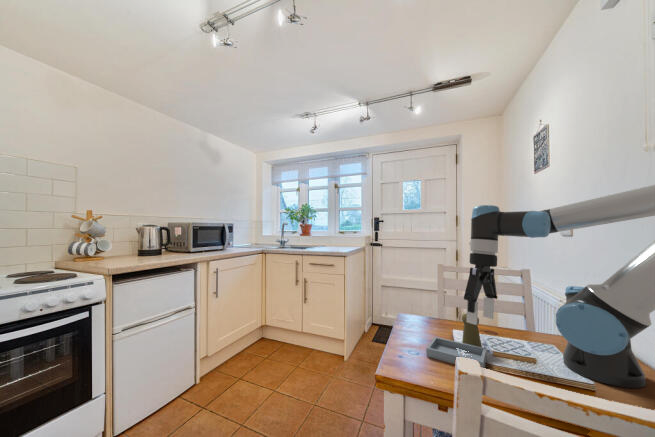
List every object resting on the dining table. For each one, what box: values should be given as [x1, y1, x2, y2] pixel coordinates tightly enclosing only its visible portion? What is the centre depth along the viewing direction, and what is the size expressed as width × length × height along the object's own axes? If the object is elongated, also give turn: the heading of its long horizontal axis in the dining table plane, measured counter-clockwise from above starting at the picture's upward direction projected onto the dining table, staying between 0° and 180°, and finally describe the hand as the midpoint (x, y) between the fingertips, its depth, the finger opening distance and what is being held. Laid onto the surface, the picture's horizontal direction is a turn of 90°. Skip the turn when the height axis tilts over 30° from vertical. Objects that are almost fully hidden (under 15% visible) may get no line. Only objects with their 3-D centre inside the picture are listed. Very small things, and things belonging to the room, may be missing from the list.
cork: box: [461, 312, 483, 347], centre depth 84 cm, size 6×6×11 cm
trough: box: [425, 336, 488, 368], centre depth 78 cm, size 16×11×3 cm
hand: (480, 320), depth 77 cm, fingers open, 13 cm apart
